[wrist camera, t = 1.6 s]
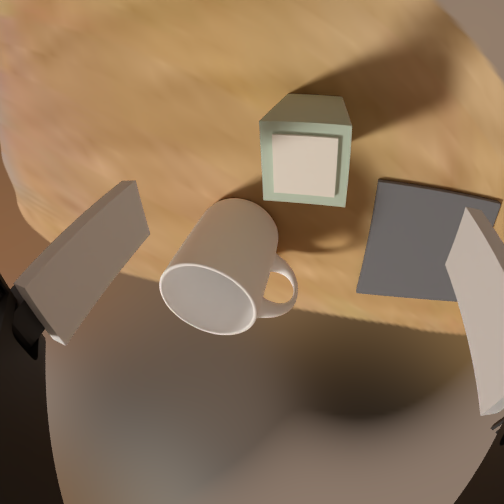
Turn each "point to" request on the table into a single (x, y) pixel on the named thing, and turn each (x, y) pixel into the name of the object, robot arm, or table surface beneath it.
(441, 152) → the table surface
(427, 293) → the mat
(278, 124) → the block
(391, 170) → the table surface
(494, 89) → the table surface
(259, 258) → the mug
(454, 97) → the table surface
